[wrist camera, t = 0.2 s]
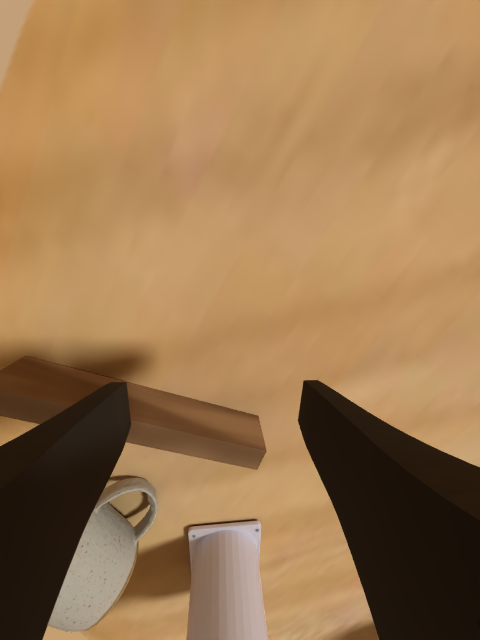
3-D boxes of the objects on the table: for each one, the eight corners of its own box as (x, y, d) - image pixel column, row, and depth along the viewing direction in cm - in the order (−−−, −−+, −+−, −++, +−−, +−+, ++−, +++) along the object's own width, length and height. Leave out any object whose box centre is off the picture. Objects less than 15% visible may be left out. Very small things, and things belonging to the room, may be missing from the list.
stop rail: (250, 432, 23) (256, 469, 19) (22, 377, 19) (-26, 410, 15) (258, 416, 22) (266, 450, 18) (26, 355, 19) (-24, 384, 15)
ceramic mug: (98, 547, 26) (52, 666, 18) (39, 505, 23) (-41, 624, 16) (178, 501, 25) (163, 606, 18) (126, 453, 22) (84, 552, 15)
